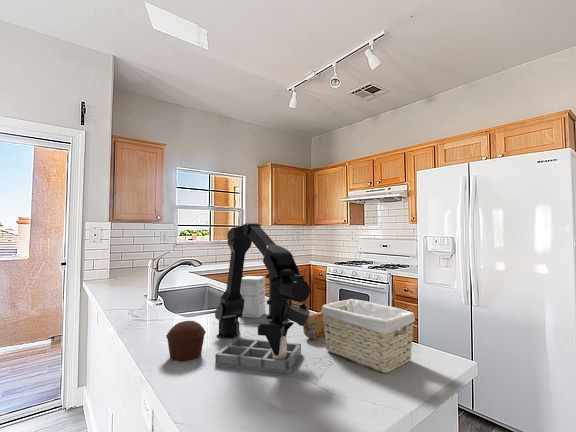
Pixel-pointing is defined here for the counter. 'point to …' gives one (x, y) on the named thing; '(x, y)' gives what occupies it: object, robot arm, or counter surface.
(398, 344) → the storage basket
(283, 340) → the egg
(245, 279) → the supplement box
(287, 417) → the counter surface
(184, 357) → the muffin
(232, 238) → the robot arm
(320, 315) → the tin
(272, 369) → the grey compartment tray
